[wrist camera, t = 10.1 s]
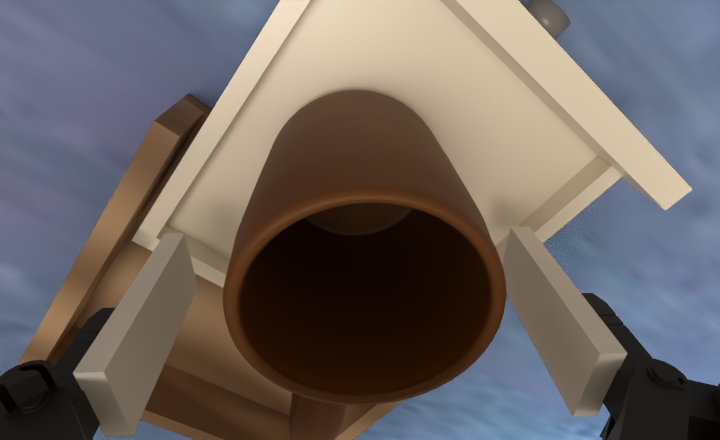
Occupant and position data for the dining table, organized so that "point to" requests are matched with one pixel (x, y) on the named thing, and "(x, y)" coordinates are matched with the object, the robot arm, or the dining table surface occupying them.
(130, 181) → the frame
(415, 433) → the dining table surface
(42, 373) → the robot arm
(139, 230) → the drawer
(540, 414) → the dining table surface
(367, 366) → the mug
